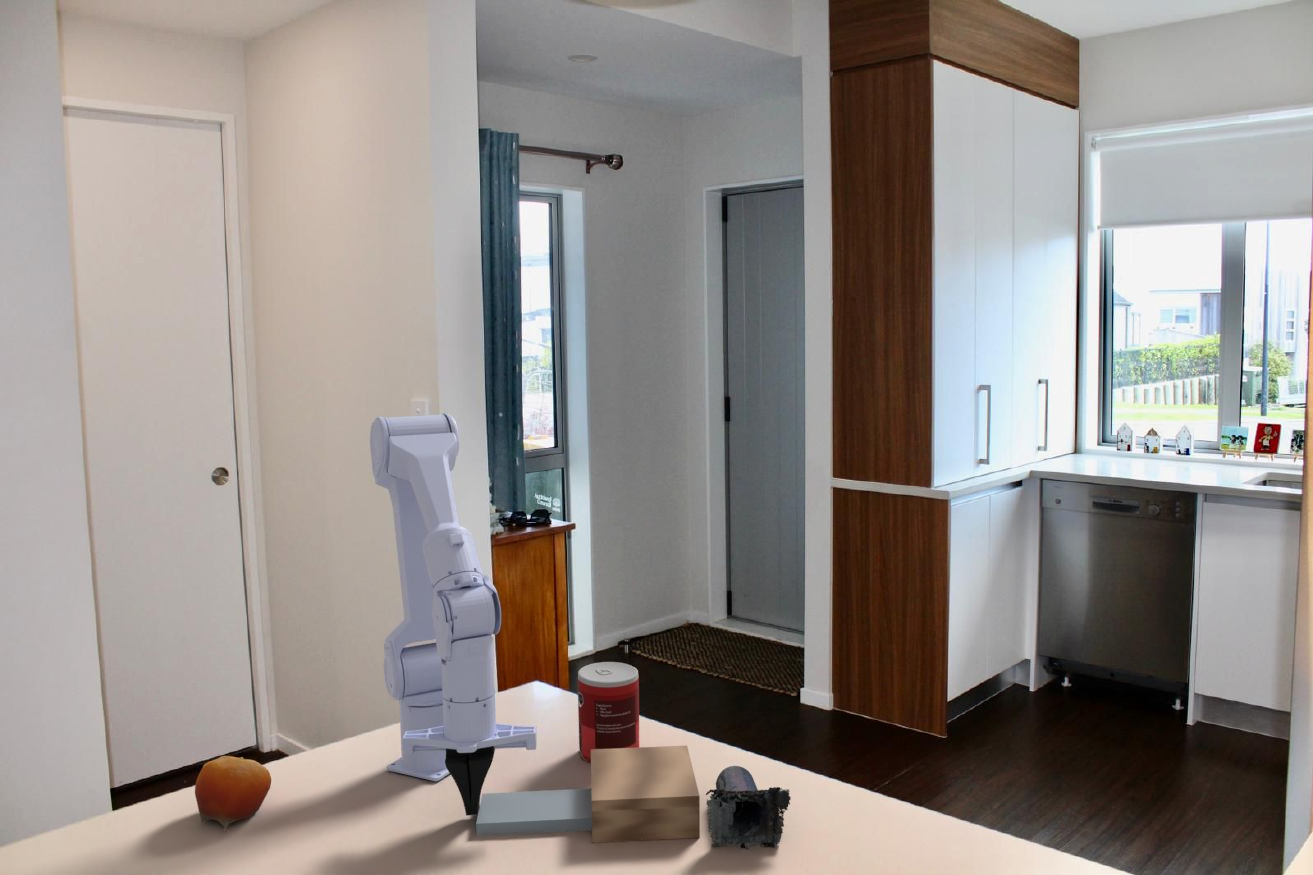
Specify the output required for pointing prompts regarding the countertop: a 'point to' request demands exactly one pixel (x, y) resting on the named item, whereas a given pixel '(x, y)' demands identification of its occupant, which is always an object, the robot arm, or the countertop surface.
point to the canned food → (608, 707)
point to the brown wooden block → (643, 794)
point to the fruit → (231, 789)
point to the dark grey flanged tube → (745, 811)
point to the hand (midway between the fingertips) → (472, 811)
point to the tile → (535, 812)
